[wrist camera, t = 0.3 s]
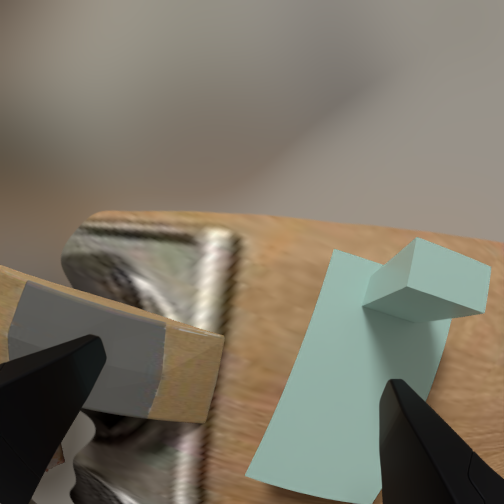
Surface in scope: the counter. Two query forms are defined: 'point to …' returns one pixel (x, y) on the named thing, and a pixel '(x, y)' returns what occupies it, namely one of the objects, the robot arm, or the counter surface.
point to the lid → (363, 365)
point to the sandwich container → (115, 348)
